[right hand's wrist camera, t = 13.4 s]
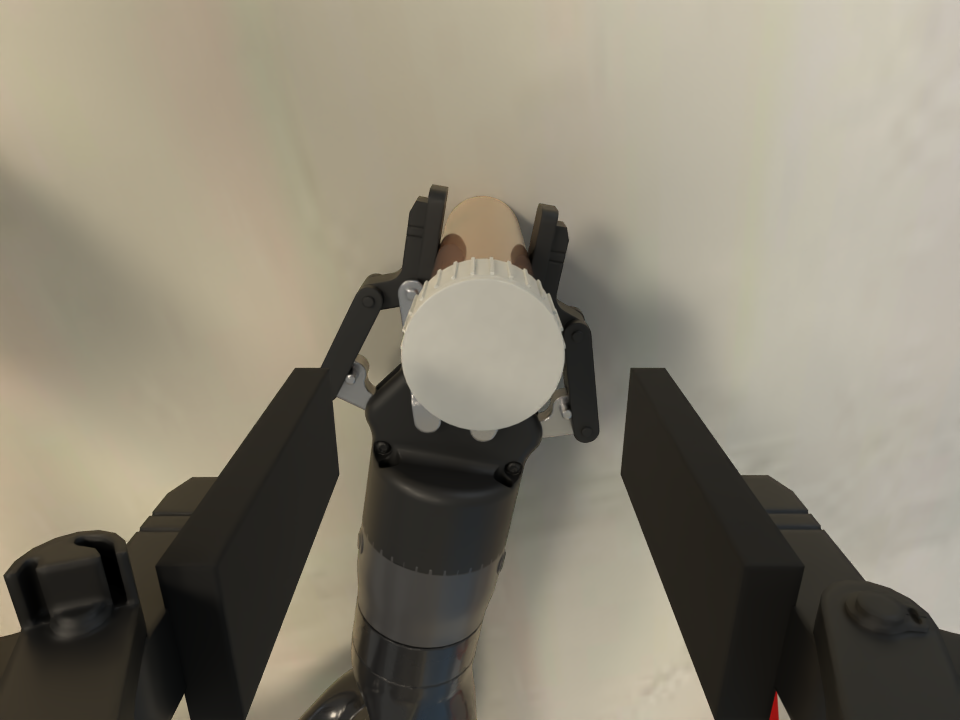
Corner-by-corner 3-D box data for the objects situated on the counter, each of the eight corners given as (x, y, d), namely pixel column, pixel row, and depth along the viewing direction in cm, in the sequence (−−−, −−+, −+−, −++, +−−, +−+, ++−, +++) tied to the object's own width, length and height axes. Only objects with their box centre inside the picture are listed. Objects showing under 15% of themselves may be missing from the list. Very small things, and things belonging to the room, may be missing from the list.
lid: (407, 394, 21) (397, 429, 18) (407, 251, 19) (397, 271, 17) (550, 401, 21) (559, 437, 18) (565, 259, 19) (576, 280, 17)
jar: (443, 269, 35) (411, 413, 19) (445, 194, 33) (412, 280, 17) (517, 273, 35) (547, 419, 19) (522, 197, 33) (560, 287, 17)
